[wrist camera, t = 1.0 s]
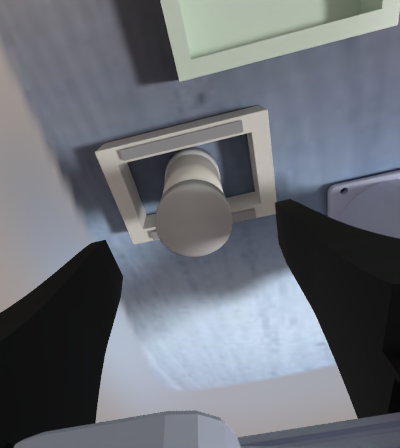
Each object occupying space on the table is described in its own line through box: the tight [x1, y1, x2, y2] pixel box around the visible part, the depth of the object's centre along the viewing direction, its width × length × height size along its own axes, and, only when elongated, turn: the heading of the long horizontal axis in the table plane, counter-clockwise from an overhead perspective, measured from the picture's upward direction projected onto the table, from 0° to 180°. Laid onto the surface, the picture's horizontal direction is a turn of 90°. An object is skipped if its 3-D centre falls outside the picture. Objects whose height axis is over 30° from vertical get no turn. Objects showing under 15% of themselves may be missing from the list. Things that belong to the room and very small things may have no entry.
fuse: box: [155, 147, 233, 257], centre depth 16 cm, size 4×4×7 cm
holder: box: [95, 105, 277, 244], centre depth 18 cm, size 10×7×2 cm, turn 103°
